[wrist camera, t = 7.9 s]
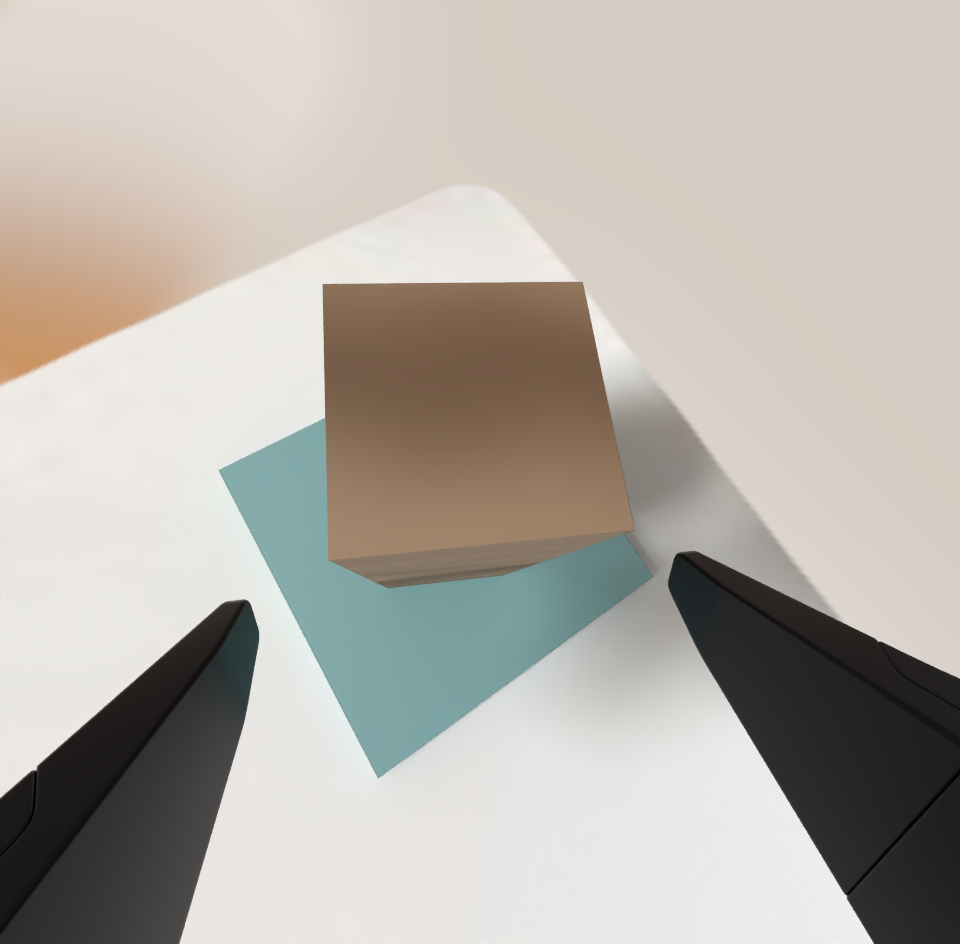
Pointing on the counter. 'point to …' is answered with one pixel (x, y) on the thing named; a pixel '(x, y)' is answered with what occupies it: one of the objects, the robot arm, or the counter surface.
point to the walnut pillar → (465, 430)
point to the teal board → (411, 608)
